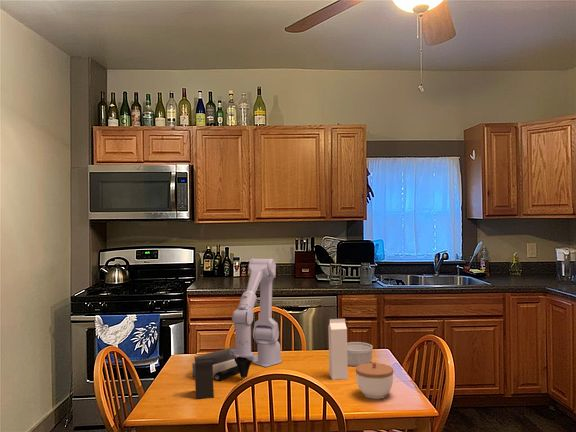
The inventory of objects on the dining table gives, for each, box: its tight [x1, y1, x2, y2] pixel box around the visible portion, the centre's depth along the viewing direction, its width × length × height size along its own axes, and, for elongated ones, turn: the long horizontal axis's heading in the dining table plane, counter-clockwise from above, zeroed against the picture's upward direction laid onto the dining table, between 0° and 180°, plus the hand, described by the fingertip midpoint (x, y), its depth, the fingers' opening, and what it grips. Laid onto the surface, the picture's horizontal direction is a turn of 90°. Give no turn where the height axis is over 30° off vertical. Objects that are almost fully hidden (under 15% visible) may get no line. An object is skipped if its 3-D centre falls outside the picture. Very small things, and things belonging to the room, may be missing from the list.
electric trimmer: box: [213, 366, 240, 382], centre depth 192 cm, size 4×16×3 cm, turn 144°
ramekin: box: [347, 341, 373, 367], centre depth 205 cm, size 13×13×7 cm
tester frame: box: [191, 346, 237, 378], centre depth 196 cm, size 21×8×7 cm, turn 134°
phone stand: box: [194, 359, 215, 400], centre depth 172 cm, size 9×6×12 cm, turn 11°
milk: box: [327, 318, 349, 381], centre depth 187 cm, size 6×6×22 cm
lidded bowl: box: [355, 361, 394, 400], centre depth 168 cm, size 13×13×11 cm
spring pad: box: [213, 359, 237, 378], centre depth 193 cm, size 21×2×6 cm, turn 134°
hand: (243, 376), depth 186 cm, fingers closed
